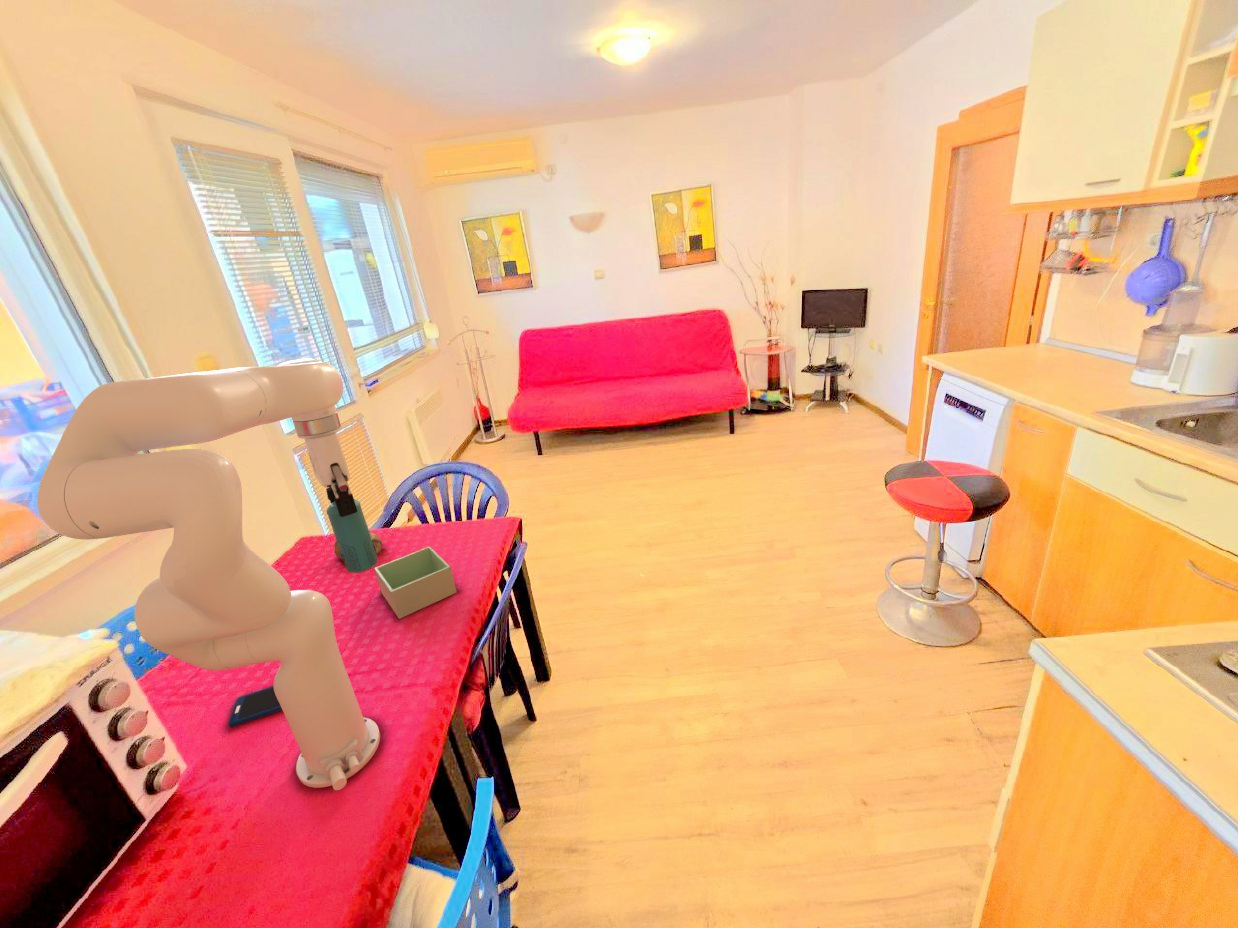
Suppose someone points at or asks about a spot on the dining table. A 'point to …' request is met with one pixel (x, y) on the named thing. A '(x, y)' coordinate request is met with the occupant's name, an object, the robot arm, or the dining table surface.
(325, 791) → the dining table surface
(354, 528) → the beverage bottle
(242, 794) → the dining table surface
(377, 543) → the pastry
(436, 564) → the bin
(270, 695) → the cell phone
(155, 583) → the robot arm
